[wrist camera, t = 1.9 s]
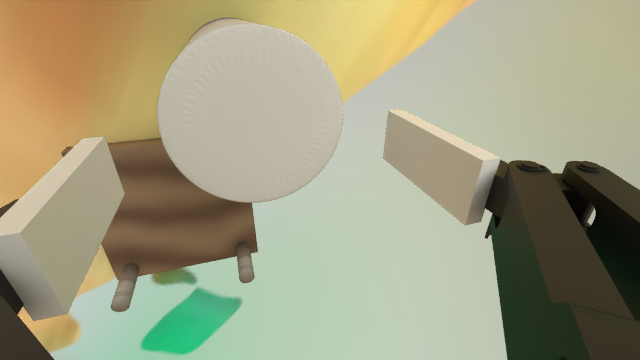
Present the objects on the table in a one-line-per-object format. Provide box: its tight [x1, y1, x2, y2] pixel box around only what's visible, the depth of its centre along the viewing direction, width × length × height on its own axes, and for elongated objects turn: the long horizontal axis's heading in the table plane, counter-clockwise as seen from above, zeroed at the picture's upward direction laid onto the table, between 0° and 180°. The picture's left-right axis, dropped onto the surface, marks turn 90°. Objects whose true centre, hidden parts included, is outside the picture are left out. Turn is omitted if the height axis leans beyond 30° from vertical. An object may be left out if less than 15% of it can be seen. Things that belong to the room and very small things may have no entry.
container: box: [157, 18, 343, 203], centre depth 25 cm, size 10×10×20 cm
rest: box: [62, 138, 258, 312], centre depth 35 cm, size 18×18×8 cm
